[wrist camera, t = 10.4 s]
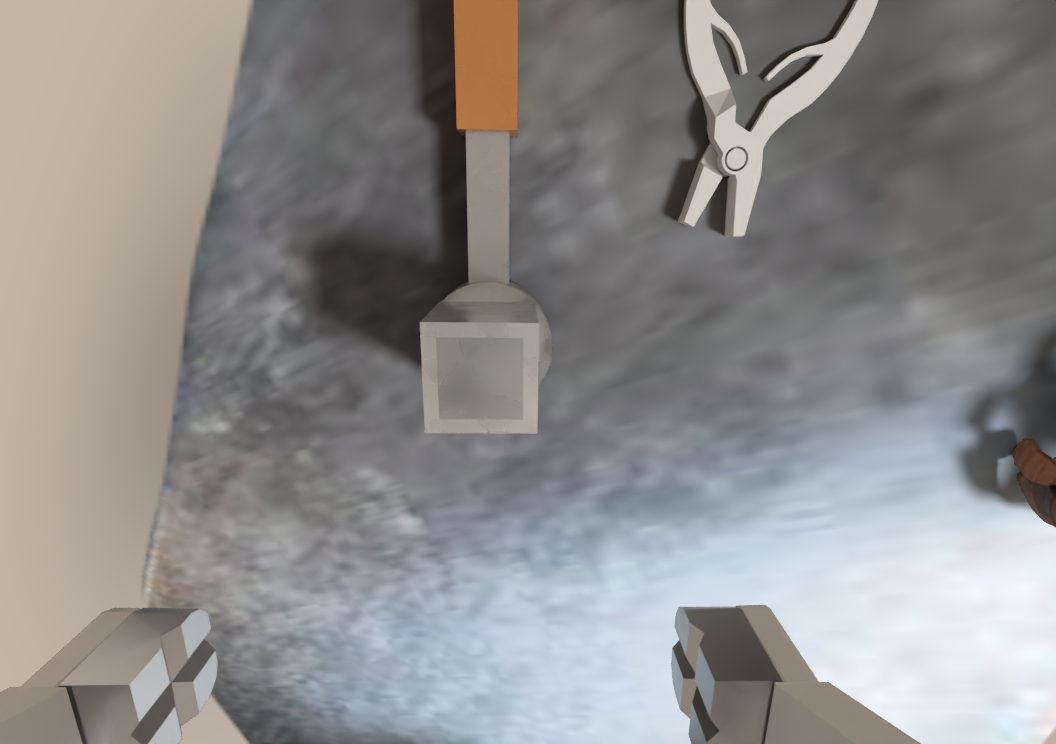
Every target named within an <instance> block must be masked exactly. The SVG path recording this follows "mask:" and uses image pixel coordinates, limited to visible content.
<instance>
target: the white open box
mask: <svg viewBox="0 0 1056 744" xmlns="http://www.w3.org/2000/svg"><path fill="white" fill-rule="evenodd" d="M420 339H421V360H422V381H423V402H424V424H425V433H537V413H538V355H539V320H538V316H537V311H536V307H535V302H468V301H440V302H439V303H438V304H437V305H436V306H435V307H434V308H433V309H432V310H431V311H430V312H429V313H428V314H427V315H426V316H425V317H424V318H423V319H422V320H421V321H420Z"/></svg>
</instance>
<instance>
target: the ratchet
mask: <svg viewBox="0 0 1056 744" xmlns="http://www.w3.org/2000/svg"><path fill="white" fill-rule="evenodd" d="M454 35H455V78H456V120H457V130H458V132H459V133H460V135H461V136H462V137H466V171H467V223H468V276H469V281H468V282H466V283H464V284H462V285H460V286H458V287H457V288H455V289H454V290H453V291H452V292H451V293H449V294H448V295H447V296H446V297H445V299H444V300H443V301H468V302H535V307H536V311H537V316H538V320H539V355H538V386H539V384H540V383H541V381H542V380H543V379H544V377H545V375H546V373H547V371H548V368H549V365H550V362H551V357H552V336H551V331H550V328H549V325H548V322H547V319H546V315H545V313H544V311H543V309H542V307H541V305H540V304H539V302H538V301H537V300H536V299H535V297H534V296H533V295H532V294H531V293H530V292H528V291H527V290H526V289H525V288H523V287H522V286H520V285H518V284H516V283H514V282H512V281H509V235H510V137H511V138H517V80H518V0H454Z"/></svg>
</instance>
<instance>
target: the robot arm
mask: <svg viewBox="0 0 1056 744" xmlns="http://www.w3.org/2000/svg"><path fill="white" fill-rule="evenodd" d="M675 629H676V632H677V634H678V637H679V641H678V642H677V643H676V644H675V646H674V647H673V648H672V663H671V665H672V678H673V685H674V690H675V694H676V698H677V701H678V704H679V707H680V710H681V711H682V712H683V713H684V714H686V715H687V716H688V717H689V718H690V727H689V738H690V741H691V744H920V743H919V742H917V741H916V740H914V739H913V738H911V737H910V736H908V735H907V734H905V733H904V732H902V731H901V730H899V729H898V728H896V727H895V726H893V725H892V724H890V723H889V722H887V721H886V720H884V719H883V718H881V717H880V716H878V715H877V714H875V713H874V712H872V711H871V710H869V709H868V708H866V707H865V706H863V705H862V704H860V703H859V702H857V701H856V700H854V699H853V698H851V697H850V696H848V695H847V694H845V693H844V692H842V691H841V690H839V689H838V688H836V687H835V686H833V685H832V684H830V683H829V682H819V681H818V680H817V678H816V677H815V675H814V674H813V672H812V671H811V669H810V668H809V666H808V665H807V663H806V662H805V660H804V659H803V657H802V656H801V654H800V653H799V651H798V650H797V648H796V647H795V645H794V644H793V642H792V641H791V639H790V638H789V636H788V635H787V633H786V632H785V630H784V629H783V627H782V626H781V624H780V623H779V621H778V620H777V618H776V617H775V615H774V614H773V612H772V611H771V609H770V608H768V607H767V606H765V605H748V606H736V607H679V608H678V610H677V613H676V618H675ZM210 630H211V625H210V621H209V617H208V613H207V612H205V611H203V610H201V609H171V608H142V609H139V608H113V609H110V610H107V611H104V612H103V613H101V614H100V615H99V616H98V617H97V618H96V619H95V620H93V621H92V622H91V623H90V624H89V625H88V626H87V627H86V628H85V629H84V630H82V631H81V632H80V633H79V634H78V635H77V636H76V637H75V638H74V639H73V640H71V641H70V642H69V643H68V644H67V645H66V646H65V647H64V648H63V649H62V650H61V651H59V652H58V653H57V654H56V655H55V656H54V657H53V658H52V659H51V660H50V661H48V662H47V663H46V664H45V665H44V666H43V667H42V668H41V669H40V670H39V671H38V672H36V673H35V674H34V675H33V676H32V677H31V678H30V679H29V680H28V681H27V682H25V684H23V685H22V686H21V687H16V688H15V687H14V688H13V687H12V688H11V687H10V688H8V689H6V690H4V691H2V692H0V744H179V743H180V741H181V740H182V732H181V726H182V725H183V724H185V723H186V722H188V721H189V720H190V719H192V718H193V717H195V716H196V715H197V714H199V713H200V711H201V710H202V708H203V707H204V705H205V703H206V702H207V700H208V699H209V697H210V694H211V692H212V689H213V686H214V683H215V680H216V676H217V657H216V651H215V649H214V648H213V647H212V646H211V645H210V644H209V643H207V642H206V641H205V640H204V639H205V637H206V636H207V634H208V633H209V631H210Z"/></svg>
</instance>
